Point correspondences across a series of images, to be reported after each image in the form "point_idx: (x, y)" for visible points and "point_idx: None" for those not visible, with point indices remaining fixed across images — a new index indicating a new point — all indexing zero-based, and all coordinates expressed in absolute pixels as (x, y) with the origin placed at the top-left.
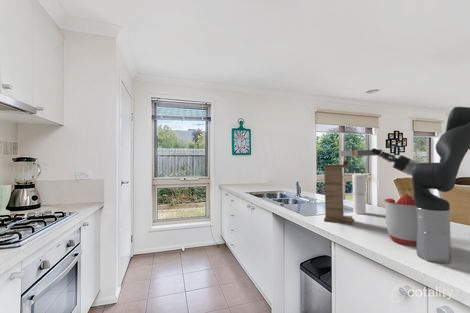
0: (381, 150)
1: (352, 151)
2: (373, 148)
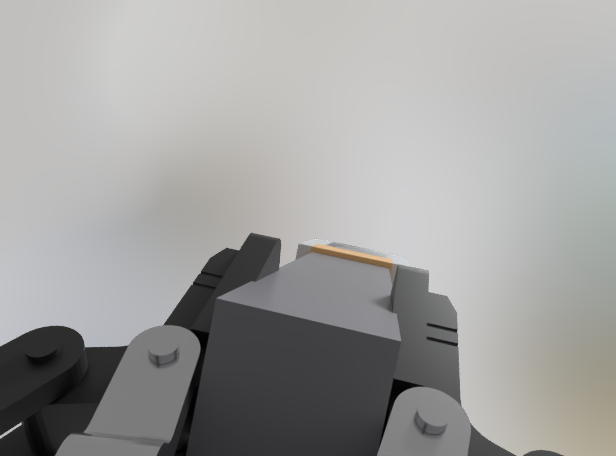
0: (217, 322)
1: (297, 255)
2: (252, 237)
